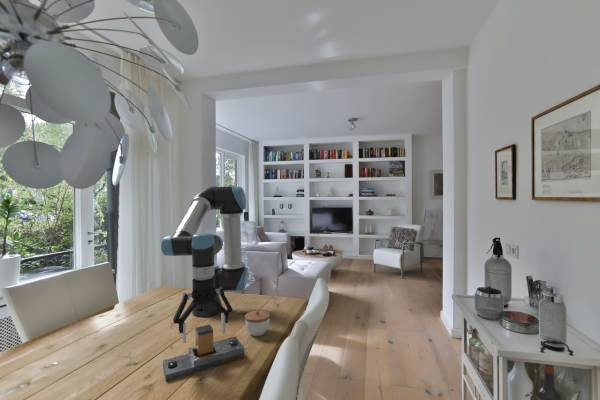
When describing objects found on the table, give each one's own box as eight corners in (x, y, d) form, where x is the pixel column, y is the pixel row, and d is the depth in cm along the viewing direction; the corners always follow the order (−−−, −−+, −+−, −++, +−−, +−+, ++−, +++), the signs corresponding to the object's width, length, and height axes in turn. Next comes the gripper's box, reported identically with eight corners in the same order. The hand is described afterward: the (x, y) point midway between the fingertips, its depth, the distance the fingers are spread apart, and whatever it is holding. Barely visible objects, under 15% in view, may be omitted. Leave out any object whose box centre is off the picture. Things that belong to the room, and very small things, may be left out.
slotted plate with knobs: (162, 366, 102) (162, 352, 102) (235, 346, 115) (235, 335, 115) (166, 381, 94) (165, 366, 94) (244, 358, 107) (244, 345, 107)
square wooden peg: (195, 361, 105) (195, 327, 105) (210, 357, 108) (209, 324, 108) (198, 367, 101) (198, 332, 101) (213, 363, 104) (213, 329, 104)
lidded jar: (265, 339, 121) (265, 316, 121) (241, 337, 123) (240, 315, 123) (273, 328, 132) (272, 307, 132) (250, 326, 134) (250, 306, 134)
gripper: (166, 285, 95) (167, 350, 95) (240, 274, 108) (241, 332, 108) (164, 279, 102) (164, 341, 102) (234, 270, 114) (235, 324, 114)
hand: (204, 336), depth 105 cm, fingers open, 13 cm apart
